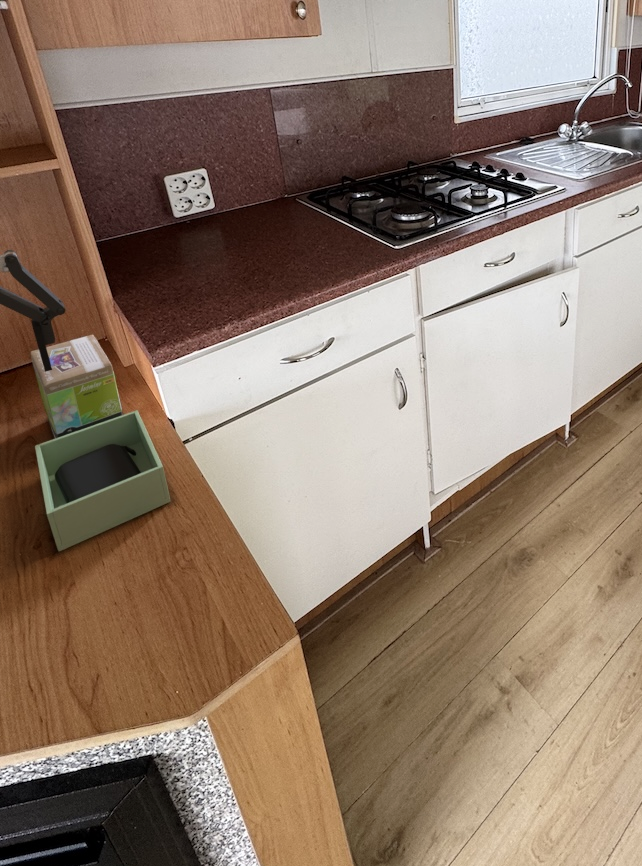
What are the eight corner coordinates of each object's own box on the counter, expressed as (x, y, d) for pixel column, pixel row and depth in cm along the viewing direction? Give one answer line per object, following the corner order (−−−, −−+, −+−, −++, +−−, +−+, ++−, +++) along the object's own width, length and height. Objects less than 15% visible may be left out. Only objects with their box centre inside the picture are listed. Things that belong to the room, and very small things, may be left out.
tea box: (129, 434, 104) (113, 363, 99) (62, 461, 98) (40, 386, 93) (109, 397, 114) (93, 331, 109) (47, 419, 108) (26, 350, 103)
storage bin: (58, 552, 81) (46, 514, 79) (45, 479, 94) (34, 445, 91) (170, 501, 90) (163, 466, 87) (144, 442, 102) (137, 409, 100)
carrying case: (159, 491, 91) (129, 447, 100) (156, 476, 90) (125, 432, 99) (78, 531, 83) (54, 479, 92) (74, 515, 82) (49, 464, 91)
